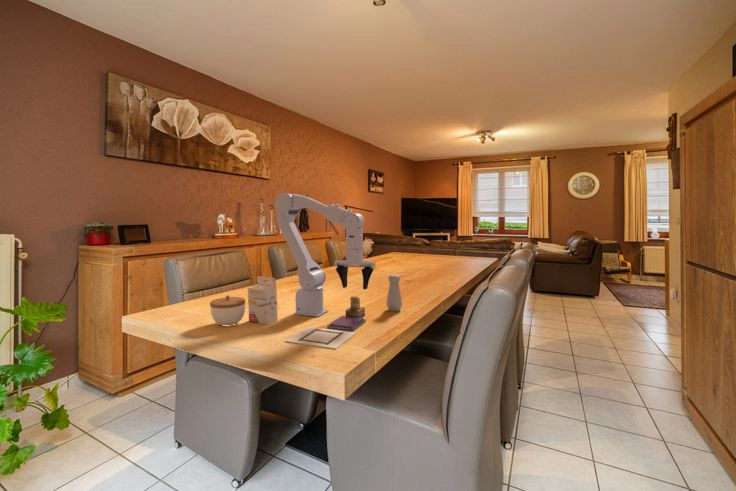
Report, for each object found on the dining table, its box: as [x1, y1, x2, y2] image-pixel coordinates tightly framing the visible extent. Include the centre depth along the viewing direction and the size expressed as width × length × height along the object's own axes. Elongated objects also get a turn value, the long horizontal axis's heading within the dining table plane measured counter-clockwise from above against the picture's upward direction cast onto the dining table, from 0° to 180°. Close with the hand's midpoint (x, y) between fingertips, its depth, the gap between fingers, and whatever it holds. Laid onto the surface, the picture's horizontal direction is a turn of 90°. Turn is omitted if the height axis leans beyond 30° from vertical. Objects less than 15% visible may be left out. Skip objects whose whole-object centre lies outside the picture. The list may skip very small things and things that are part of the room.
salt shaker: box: [386, 274, 403, 312], centre depth 129 cm, size 6×6×13 cm
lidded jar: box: [209, 295, 246, 326], centre depth 115 cm, size 11×11×9 cm
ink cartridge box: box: [247, 276, 278, 326], centre depth 117 cm, size 9×5×15 cm, turn 65°
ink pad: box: [326, 315, 367, 332], centre depth 113 cm, size 9×10×1 cm
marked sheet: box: [284, 326, 357, 350], centre depth 101 cm, size 16×13×1 cm
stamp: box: [345, 295, 366, 318], centre depth 121 cm, size 5×5×7 cm
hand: (355, 288), depth 120 cm, fingers open, 7 cm apart
